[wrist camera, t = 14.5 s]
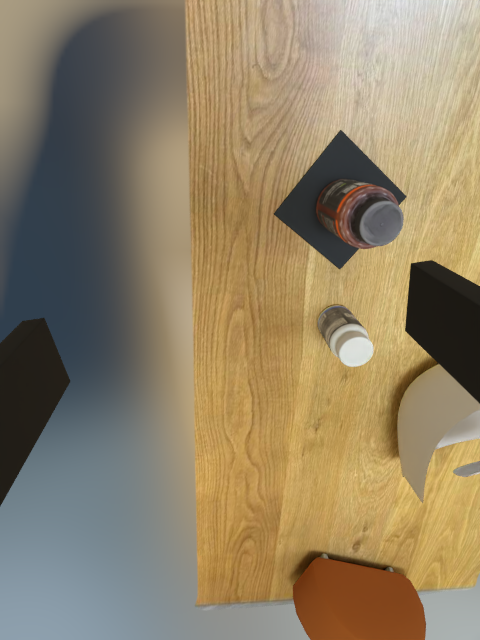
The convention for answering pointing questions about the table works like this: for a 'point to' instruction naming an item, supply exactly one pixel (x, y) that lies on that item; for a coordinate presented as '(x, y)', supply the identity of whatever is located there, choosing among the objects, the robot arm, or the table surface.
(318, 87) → the table surface
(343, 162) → the mat
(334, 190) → the supplement bottle
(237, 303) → the table surface
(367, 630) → the orange toaster
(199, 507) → the table surface
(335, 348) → the pill bottle
